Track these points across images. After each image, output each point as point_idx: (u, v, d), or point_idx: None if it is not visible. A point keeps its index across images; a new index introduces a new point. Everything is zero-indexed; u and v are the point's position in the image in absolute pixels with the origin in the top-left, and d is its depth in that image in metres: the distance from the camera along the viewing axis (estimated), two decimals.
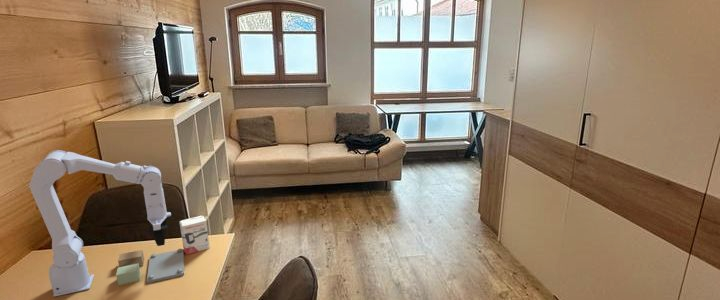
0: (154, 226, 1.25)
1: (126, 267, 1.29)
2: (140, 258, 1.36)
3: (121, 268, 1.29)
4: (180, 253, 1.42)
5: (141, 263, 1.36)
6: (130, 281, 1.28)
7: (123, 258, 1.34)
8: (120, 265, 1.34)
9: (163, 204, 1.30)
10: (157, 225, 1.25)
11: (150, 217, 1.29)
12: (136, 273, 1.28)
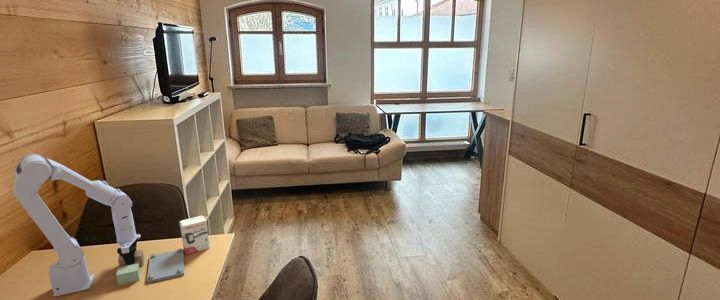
0: (122, 249, 1.28)
1: (126, 267, 1.29)
2: (140, 257, 1.36)
3: (121, 268, 1.29)
4: (180, 253, 1.42)
5: (141, 262, 1.36)
6: (130, 281, 1.28)
7: None
8: (120, 264, 1.34)
9: (132, 227, 1.33)
10: (125, 248, 1.28)
11: (119, 240, 1.32)
12: (136, 273, 1.28)
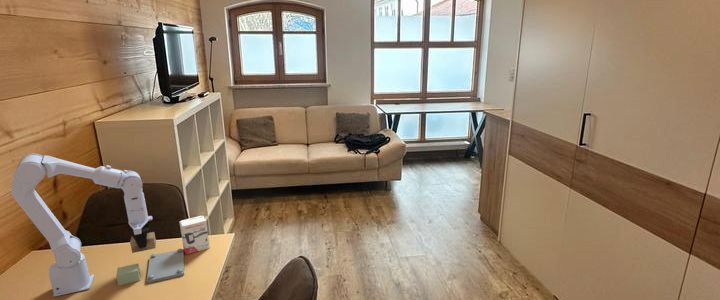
0: (135, 230, 1.25)
1: (126, 267, 1.29)
2: (152, 240, 1.33)
3: (121, 268, 1.29)
4: (180, 253, 1.42)
5: (153, 245, 1.34)
6: (130, 281, 1.28)
7: None
8: (132, 247, 1.31)
9: (144, 208, 1.30)
10: (138, 229, 1.26)
11: (131, 221, 1.29)
12: (136, 273, 1.28)
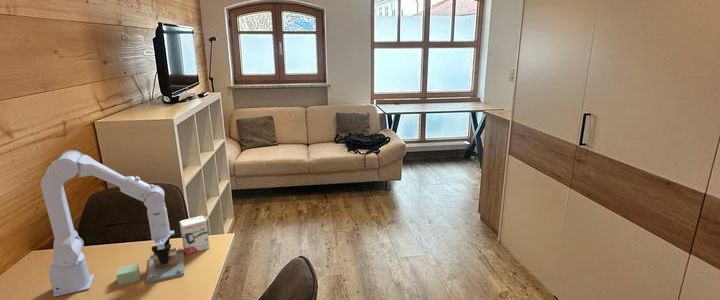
0: (158, 246, 1.26)
1: (126, 267, 1.29)
2: (174, 256, 1.34)
3: (121, 268, 1.29)
4: (180, 253, 1.42)
5: (175, 261, 1.35)
6: (130, 281, 1.28)
7: None
8: (155, 263, 1.32)
9: (166, 223, 1.31)
10: (161, 245, 1.26)
11: (154, 236, 1.30)
12: (136, 273, 1.28)
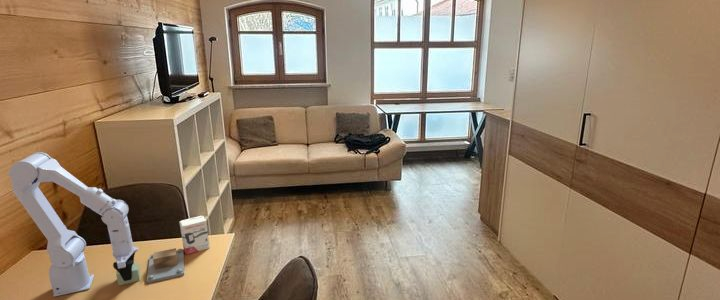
0: (118, 264, 1.20)
1: None
2: (174, 256, 1.34)
3: None
4: (180, 253, 1.42)
5: (175, 261, 1.35)
6: (130, 280, 1.28)
7: (158, 257, 1.33)
8: (155, 263, 1.32)
9: (129, 240, 1.25)
10: (122, 263, 1.20)
11: (115, 254, 1.24)
12: (136, 272, 1.28)
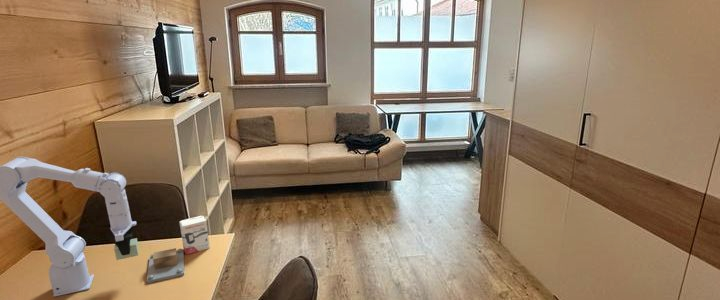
0: (116, 237, 1.18)
1: None
2: (174, 256, 1.34)
3: None
4: (180, 253, 1.42)
5: (175, 261, 1.35)
6: (129, 255, 1.26)
7: (158, 257, 1.33)
8: (155, 263, 1.32)
9: (127, 213, 1.23)
10: (119, 236, 1.18)
11: (113, 227, 1.22)
12: (135, 247, 1.26)
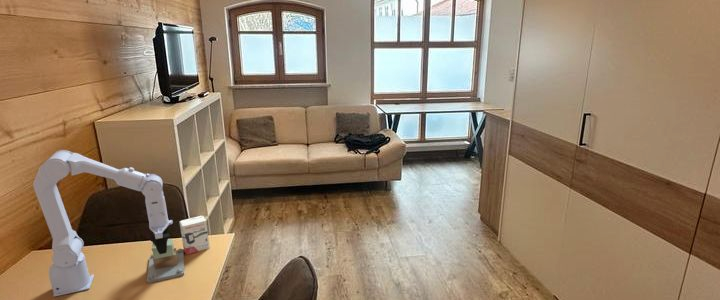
0: (156, 235, 1.25)
1: None
2: (174, 256, 1.34)
3: None
4: (180, 253, 1.42)
5: (175, 261, 1.35)
6: (165, 255, 1.33)
7: None
8: (155, 263, 1.32)
9: (165, 212, 1.30)
10: (159, 233, 1.25)
11: (152, 225, 1.29)
12: (171, 247, 1.33)
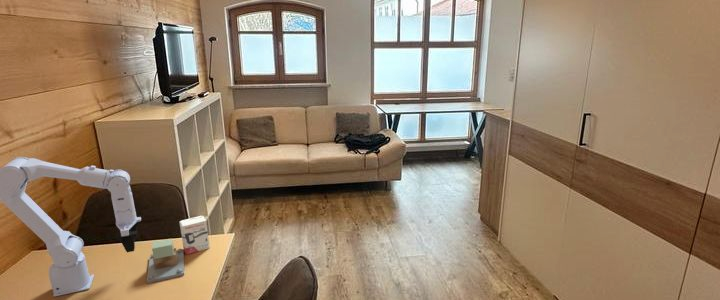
0: (122, 232, 1.21)
1: (161, 242, 1.35)
2: (174, 256, 1.34)
3: (156, 242, 1.34)
4: (180, 253, 1.42)
5: (175, 261, 1.35)
6: (165, 255, 1.33)
7: None
8: (155, 263, 1.32)
9: (132, 209, 1.26)
10: (125, 231, 1.21)
11: (118, 222, 1.24)
12: (171, 247, 1.33)
